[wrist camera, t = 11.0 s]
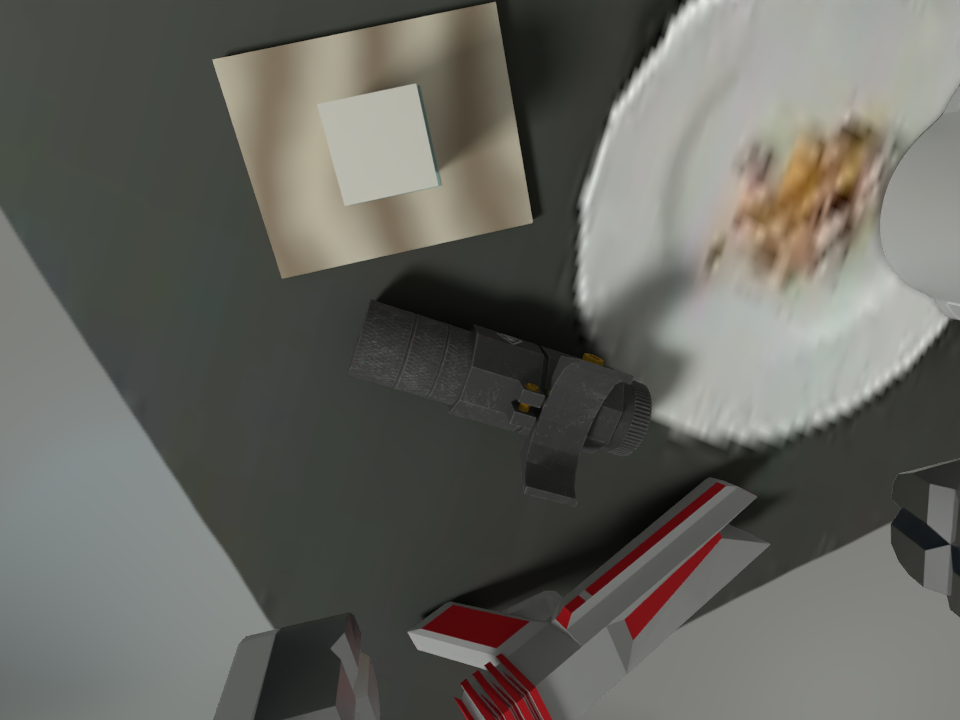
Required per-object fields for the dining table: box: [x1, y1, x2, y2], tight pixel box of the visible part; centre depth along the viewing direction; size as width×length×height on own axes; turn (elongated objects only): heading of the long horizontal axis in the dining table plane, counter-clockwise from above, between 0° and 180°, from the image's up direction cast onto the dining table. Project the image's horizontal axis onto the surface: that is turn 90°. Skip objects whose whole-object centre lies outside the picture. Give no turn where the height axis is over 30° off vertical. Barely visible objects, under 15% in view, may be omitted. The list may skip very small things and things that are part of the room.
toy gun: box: [408, 477, 770, 720], centre depth 51 cm, size 7×28×15 cm, turn 112°
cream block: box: [317, 83, 438, 206], centre depth 33 cm, size 5×5×5 cm
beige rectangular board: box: [213, 2, 533, 279], centre depth 41 cm, size 18×14×1 cm
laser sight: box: [347, 299, 652, 507], centre depth 43 cm, size 10×22×10 cm, turn 70°
